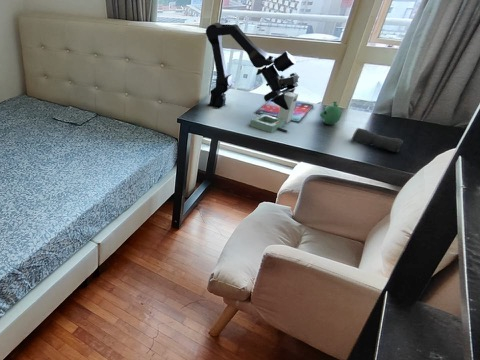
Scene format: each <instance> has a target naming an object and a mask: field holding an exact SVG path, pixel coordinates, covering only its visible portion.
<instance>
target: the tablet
mask: <svg viewBox="0 0 480 360" xmlns="http://www.w3.org/2000/svg"><path fill="white" fill-rule="evenodd" d="M271 100H272V99H270V100H269V101H267V102H265V103H264V104H263V105H262V106H261V107H260V108H258V110H256V111H255V114H257V115H262V114H265V115H269V116H272V117H276V118H278V114H279V110H280V106H279V105H277V104H275V103H273V102H270V101H271ZM313 107H314V104H312V103H307V102H302V101H298V100H297V101H296V105H295V108H294V112H293V116H292V119H291V121H290V122H293V123H300V122H301V121H302V120H303V119H304V118H305V116H306V115H307V114H308V113H309V112H310V111H311V109H313Z"/></svg>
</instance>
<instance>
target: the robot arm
mask: <svg viewBox="0 0 480 360" xmlns="http://www.w3.org/2000/svg"><path fill="white" fill-rule="evenodd" d="M205 35H206V38H207V41H208V42H209V44H210V45H211V49H212V54H213V61H214V67H215V72H216V78H215V86H214V88H212V89H211V90H210V91H209V92H210V97H209V103H207V106H208V107H213V108H215V109H221V108H223V107H225V106H226V102H227V94H226V93H227V92H228V91H229V90H230V89H231V88H232V87H233V83H234V80H233V74H232V73H230V74H229V73H228V71H227V64H226V59H225V53H224V47H223V37H224V36H231V38H232V39H234V41H235V42H236V43H237V44H238V45H239V46H240V47H241V49H243V50H244V52H245V53H246V54H247V56H248V58H249V61H250V63H251V64H252V66H253V67H254V68H256V69H257V71H256V74H255V75H256V76H259V75H262V76H263V78H264V80H265V82H266V84H265V85H266V87H269V89H270V90H271V91H270V92H267V93H266V94H264V96H263V99H264V101H265V103H267V102H268V101H269V100H270V99H272V100H271V101H270V102H273V103H275V104H277V105H279V106H280V107H282V108H284V109H285V110H288V109H289V108H288V106H287V103H286V101H285V99H284V95H285V93H287V92H292V93H295V90H296V88H297V87H299V78H300V76H299V75H298V73H297V72H292V73H290V74H289V76H286V77H285V76H284V75H281V74H280V73H279V72H285V71H287V70H288V69H290V68H291V67H293V66H294V65H296V64H297V62H296V59H295V58H294V56H293V55H292V54H291V53H289V52H288V51H287V50H285V51H284V52H282V53H281V54H280V55H278V56H277V57H276V56H272V55H270V54H268V52H266V51H265V50H263V49H262V48H260V47H259V46H257V45H255V43H254V42H253V41H252V40H251V39H250V38H249V37H248V36H247V35H246V34H245V32H244V31H243V30H242V28H240V27H239V25H238V24H236V23H235V24H222V23H220V22H214V23H211V24H209V25H208V26H207V27H206V29H205Z"/></svg>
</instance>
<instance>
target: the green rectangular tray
mask: <svg viewBox="0 0 480 360" xmlns="http://www.w3.org/2000/svg"><path fill="white" fill-rule="evenodd" d="M284 122H285V120H282V119H279V118H276V117H272V116H269V115H265V114H262V115H261V114H259V115H258V116H256V117H254V118H251V120H250V123H249V126H250V127H253V128H255V129H259V130H262V131H264V132H268V133H270V134H271V133H273V132H276V131H280V132H284V133H288V130H287V129H284V128H283V127H284V125H285V123H284Z"/></svg>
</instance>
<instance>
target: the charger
mask: <svg viewBox="0 0 480 360" xmlns="http://www.w3.org/2000/svg"><path fill="white" fill-rule="evenodd" d="M298 97H299V93H295V92H294V93H292V92H287V93H285V95H284V99H285V101H286V103H287V106H288V108H289V109H288V110H285V109H284V108H282V107H280V110H279V114H278V118H279V119H282V120H285V122H284V124H287V123H289V122H292V121H291V119H292V116H293V112H294V108H295V105H296V101H297V102H298Z"/></svg>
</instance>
